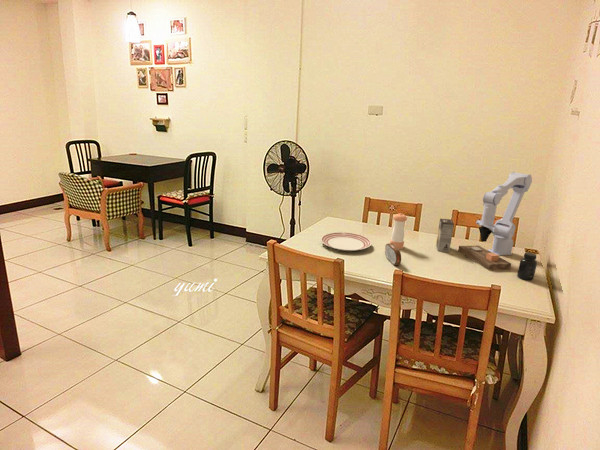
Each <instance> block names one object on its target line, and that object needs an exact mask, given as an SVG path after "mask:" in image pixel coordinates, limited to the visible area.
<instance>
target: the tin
mask: <svg viewBox="0 0 600 450" xmlns="http://www.w3.org/2000/svg"><path fill="white" fill-rule="evenodd" d="M384 249H385V251H384V255H385V257H386V259H387V260H388V261H389V262H390V263H391V265H393V266H400V265H401V263H402V253H401V249H398V248H397V247H396V246H395V245H394V244H393V243H390V242H389V243H386V244H385V248H384Z"/></svg>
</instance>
